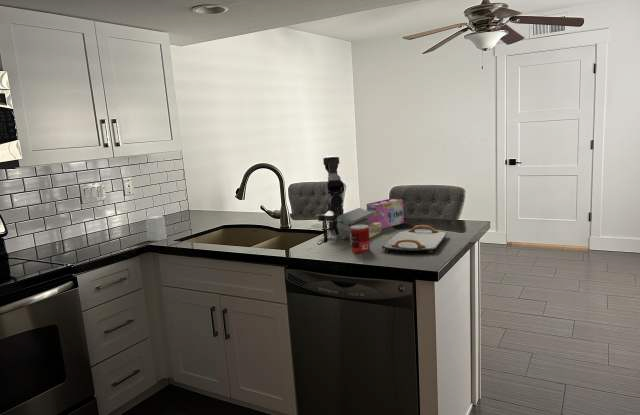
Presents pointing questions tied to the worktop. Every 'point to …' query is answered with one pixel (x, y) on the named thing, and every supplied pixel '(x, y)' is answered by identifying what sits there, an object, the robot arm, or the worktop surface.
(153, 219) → the supplement box
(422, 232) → the serving board
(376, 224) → the maple stop board
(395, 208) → the gum box
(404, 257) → the worktop surface
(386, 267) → the worktop surface
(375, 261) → the worktop surface
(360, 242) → the canned food
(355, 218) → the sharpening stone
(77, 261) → the worktop surface
